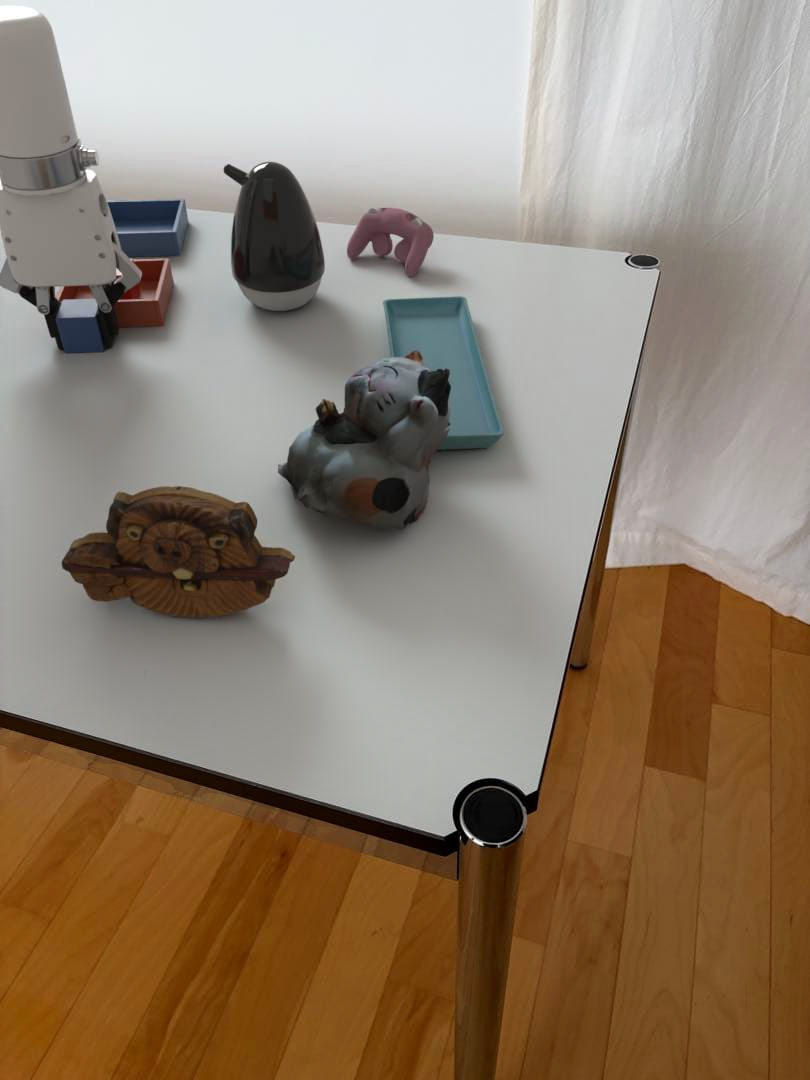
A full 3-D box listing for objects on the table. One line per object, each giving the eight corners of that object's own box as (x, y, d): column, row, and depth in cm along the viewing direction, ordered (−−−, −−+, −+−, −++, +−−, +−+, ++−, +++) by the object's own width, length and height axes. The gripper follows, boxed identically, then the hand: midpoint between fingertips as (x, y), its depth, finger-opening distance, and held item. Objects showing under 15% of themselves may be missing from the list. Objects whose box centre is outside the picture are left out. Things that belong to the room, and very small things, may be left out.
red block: (97, 310, 99) (89, 276, 96) (104, 293, 101) (96, 259, 99) (134, 309, 99) (127, 275, 96) (140, 291, 102) (132, 258, 99)
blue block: (64, 353, 93) (54, 318, 90) (72, 333, 96) (62, 299, 93) (103, 352, 93) (95, 317, 90) (110, 332, 96) (101, 298, 93)
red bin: (59, 329, 97) (52, 303, 94) (77, 285, 104) (71, 261, 102) (163, 325, 97) (158, 300, 95) (173, 282, 104) (169, 258, 102)
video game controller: (428, 280, 108) (443, 220, 106) (410, 277, 105) (425, 215, 102) (360, 260, 112) (373, 202, 110) (341, 256, 108) (354, 196, 106)
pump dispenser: (261, 272, 106) (246, 139, 96) (341, 288, 104) (335, 153, 93) (217, 312, 99) (196, 173, 89) (302, 329, 97) (291, 188, 86)
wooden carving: (69, 628, 65) (32, 526, 58) (86, 584, 69) (52, 482, 62) (296, 629, 65) (285, 527, 59) (301, 584, 69) (291, 482, 62)
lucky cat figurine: (270, 455, 80) (319, 305, 76) (393, 489, 84) (448, 349, 80) (285, 523, 67) (346, 347, 62) (431, 560, 71) (499, 397, 66)
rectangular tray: (382, 315, 99) (382, 295, 97) (464, 312, 100) (465, 292, 98) (401, 461, 80) (401, 438, 78) (503, 456, 81) (505, 434, 79)
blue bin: (88, 258, 109) (82, 234, 107) (102, 223, 116) (97, 200, 114) (180, 255, 110) (176, 232, 108) (188, 221, 117) (184, 198, 115)
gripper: (139, 147, 85) (172, 321, 98) (-42, 151, 84) (14, 326, 97) (127, 178, 80) (163, 357, 92) (-67, 182, 79) (-3, 363, 91)
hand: (87, 340), depth 94 cm, fingers closed on blue block, 4 cm apart
